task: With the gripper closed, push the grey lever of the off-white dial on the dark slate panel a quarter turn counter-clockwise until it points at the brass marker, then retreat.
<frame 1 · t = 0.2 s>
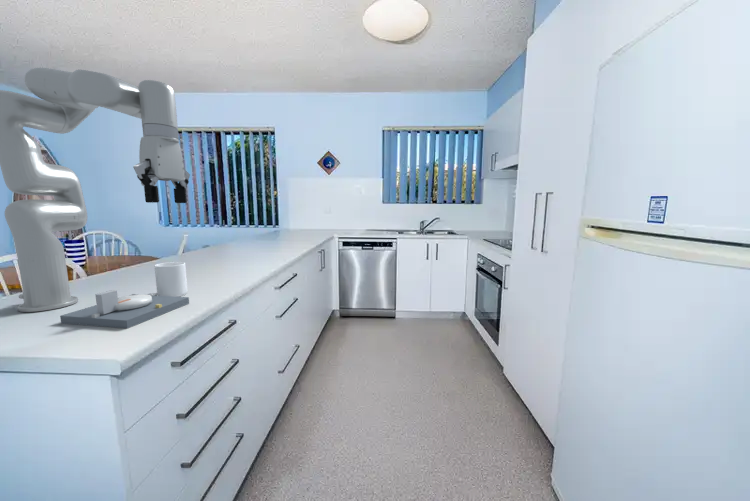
hand: (167, 202, 81), 31 cm above the countertop, fingers open, 9 cm apart
mug: (170, 294, 105), on the countertop
dial: (124, 297, 85), point 5 cm above the countertop, hinge at 0.0°
panel: (131, 312, 87), on the countertop
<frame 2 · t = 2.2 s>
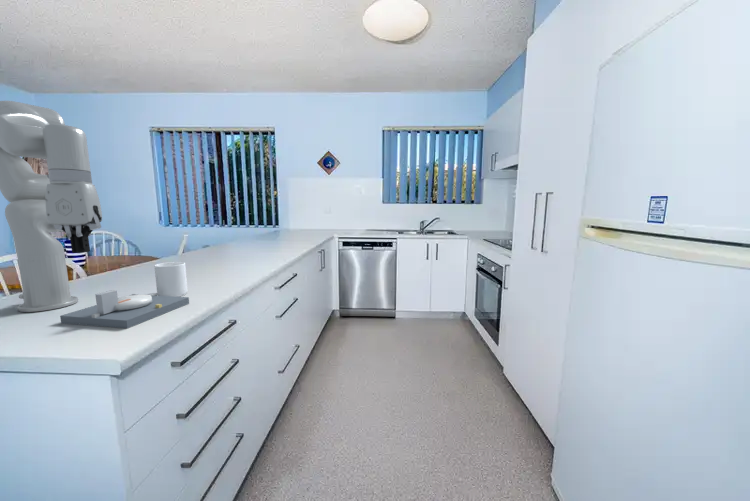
hand: (81, 252, 78), 18 cm above the countertop, fingers closed
nothing on the countertop moved.
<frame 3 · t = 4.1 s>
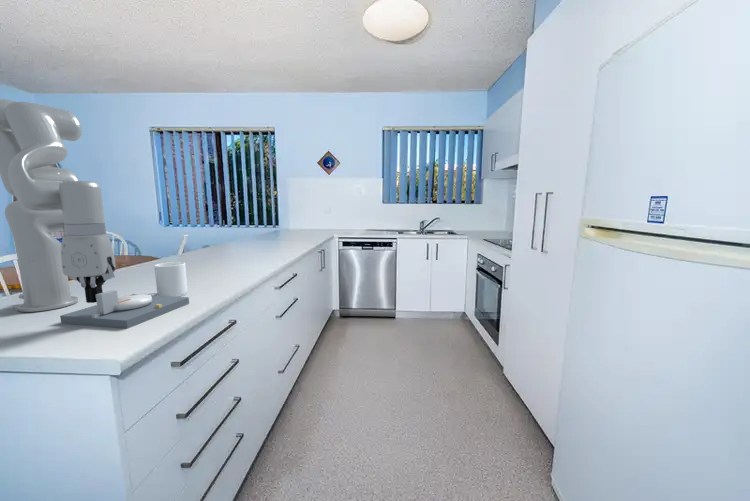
hand: (95, 301, 80), 5 cm above the countertop, fingers closed
dial: (124, 297, 85), point 5 cm above the countertop, hinge at 0.7°, touching gripper
everything else where it was.
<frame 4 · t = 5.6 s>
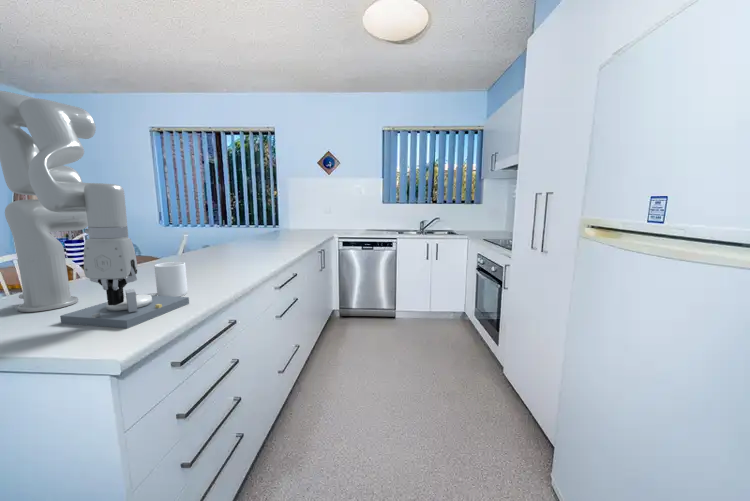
hand: (116, 303, 80), 5 cm above the countertop, fingers closed
dial: (129, 296, 85), point 5 cm above the countertop, hinge at 52.4°, touching gripper
everything else where it was.
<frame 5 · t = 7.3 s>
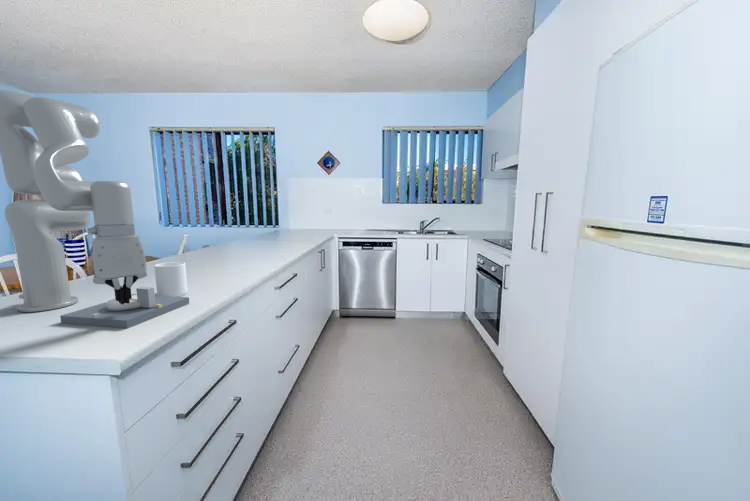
hand: (124, 302, 79), 5 cm above the countertop, fingers closed
dial: (133, 296, 86), point 5 cm above the countertop, hinge at 85.3°
everything else where it was.
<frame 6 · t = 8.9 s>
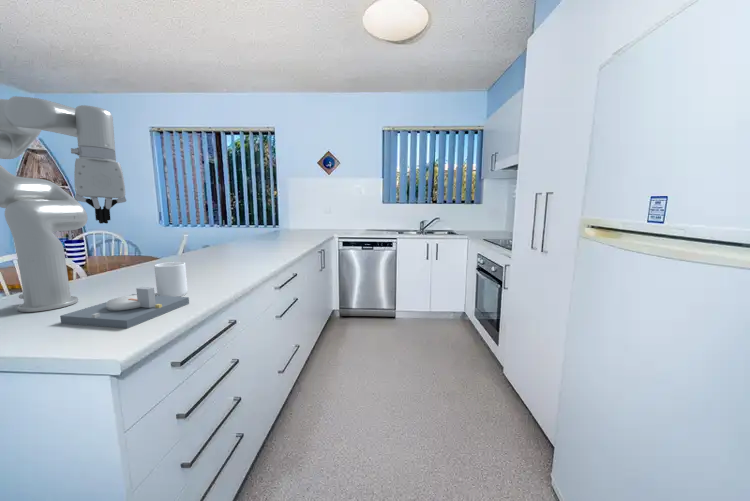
hand: (103, 222, 86), 25 cm above the countertop, fingers closed
nothing on the countertop moved.
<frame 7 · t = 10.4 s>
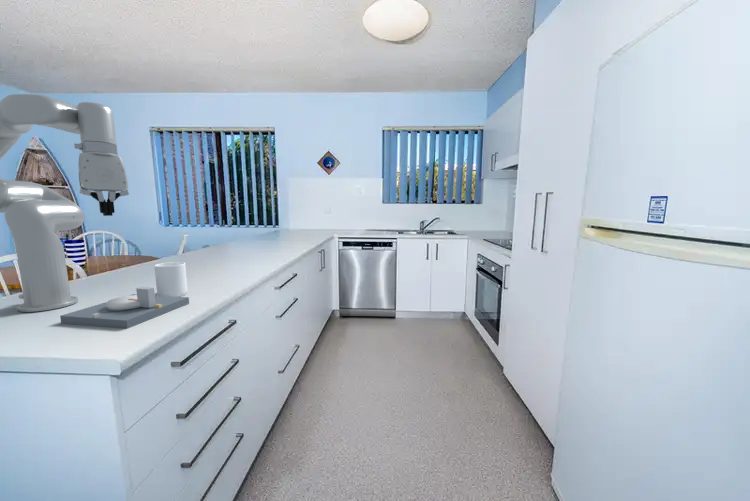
hand: (107, 215, 90), 27 cm above the countertop, fingers closed
nothing on the countertop moved.
at the end: dial at +85° (first picture: +0°) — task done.
